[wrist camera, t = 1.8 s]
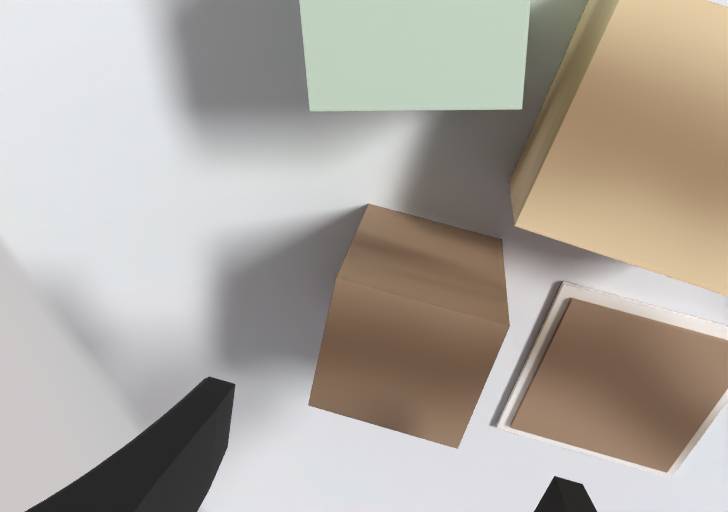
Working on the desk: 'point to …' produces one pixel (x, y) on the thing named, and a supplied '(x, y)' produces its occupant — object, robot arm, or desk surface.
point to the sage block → (415, 54)
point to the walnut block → (412, 326)
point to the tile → (620, 380)
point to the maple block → (636, 141)
